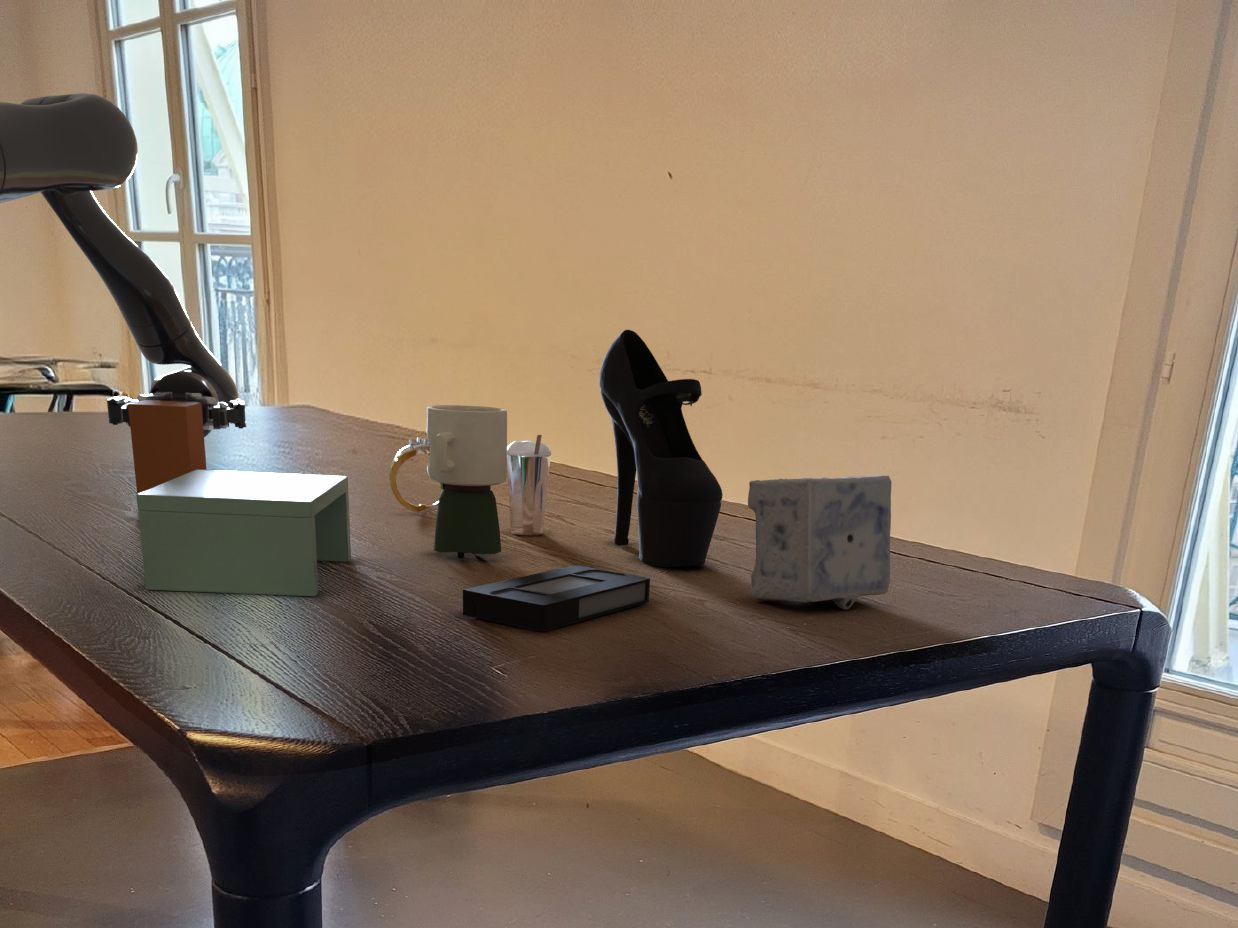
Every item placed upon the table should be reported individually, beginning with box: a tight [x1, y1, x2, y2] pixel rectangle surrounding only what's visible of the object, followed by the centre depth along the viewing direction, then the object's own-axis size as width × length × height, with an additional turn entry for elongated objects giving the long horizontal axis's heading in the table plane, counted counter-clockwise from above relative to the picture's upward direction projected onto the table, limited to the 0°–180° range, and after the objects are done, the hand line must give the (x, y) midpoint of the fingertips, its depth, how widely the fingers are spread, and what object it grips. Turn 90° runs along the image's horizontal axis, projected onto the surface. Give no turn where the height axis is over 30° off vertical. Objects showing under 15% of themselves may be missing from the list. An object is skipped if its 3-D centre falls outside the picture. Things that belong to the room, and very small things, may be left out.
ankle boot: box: [128, 400, 208, 521], centre depth 128 cm, size 12×6×11 cm, turn 92°
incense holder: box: [747, 474, 892, 611], centre depth 105 cm, size 10×8×10 cm
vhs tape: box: [462, 564, 651, 632], centre depth 99 cm, size 8×14×2 cm, turn 147°
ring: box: [389, 436, 438, 516], centre depth 138 cm, size 7×3×8 cm, turn 100°
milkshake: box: [507, 434, 552, 537], centre depth 129 cm, size 4×5×10 cm
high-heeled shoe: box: [598, 329, 723, 568], centre depth 119 cm, size 8×19×20 cm, turn 32°
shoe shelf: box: [135, 469, 352, 597], centre depth 105 cm, size 13×16×7 cm
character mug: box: [425, 404, 508, 560], centre depth 116 cm, size 11×7×13 cm, turn 161°
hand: (173, 417), depth 135 cm, fingers open, 8 cm apart
